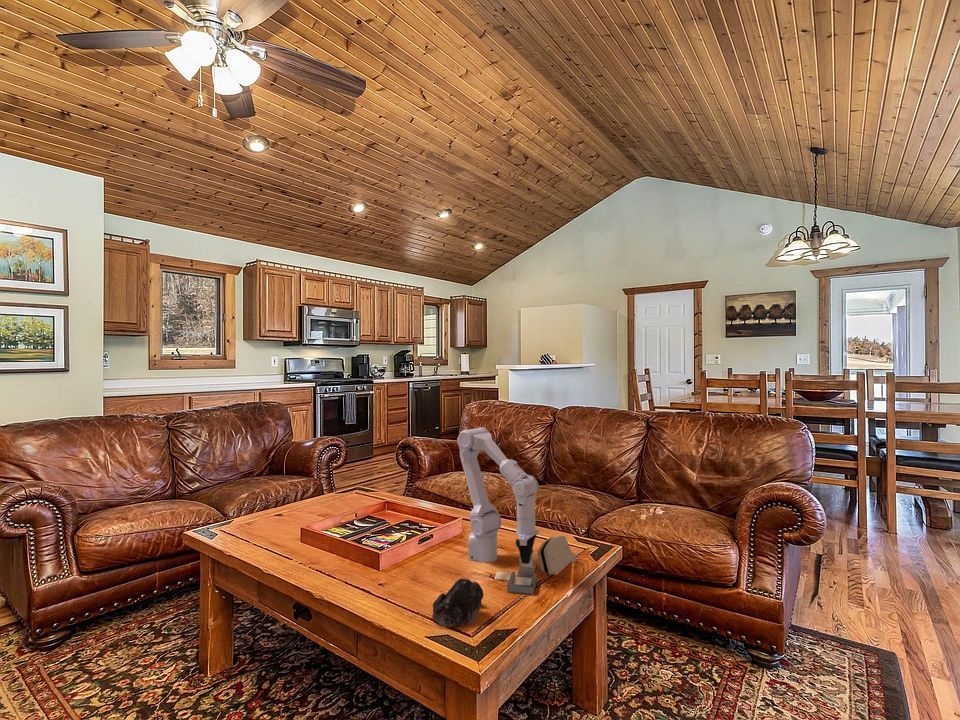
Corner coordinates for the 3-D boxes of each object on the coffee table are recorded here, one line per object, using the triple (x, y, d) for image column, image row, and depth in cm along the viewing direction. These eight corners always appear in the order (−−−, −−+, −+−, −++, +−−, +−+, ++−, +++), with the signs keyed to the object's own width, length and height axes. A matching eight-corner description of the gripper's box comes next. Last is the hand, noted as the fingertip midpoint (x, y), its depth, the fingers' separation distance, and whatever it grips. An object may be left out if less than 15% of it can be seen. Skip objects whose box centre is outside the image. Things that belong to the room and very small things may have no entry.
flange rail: (507, 595, 140) (507, 585, 140) (517, 567, 158) (516, 558, 158) (533, 598, 138) (533, 587, 138) (540, 569, 157) (540, 559, 157)
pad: (494, 581, 148) (494, 578, 148) (497, 574, 153) (497, 571, 153) (510, 583, 147) (510, 580, 147) (513, 576, 152) (513, 572, 152)
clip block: (519, 566, 151) (519, 549, 151) (521, 560, 155) (520, 544, 155) (532, 567, 150) (532, 550, 150) (533, 562, 154) (533, 545, 154)
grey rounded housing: (557, 579, 150) (546, 546, 152) (543, 580, 152) (533, 548, 154) (577, 559, 164) (567, 529, 166) (565, 561, 166) (555, 531, 168)
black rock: (421, 625, 126) (421, 589, 125) (445, 596, 139) (445, 563, 138) (468, 640, 121) (469, 603, 120) (488, 609, 134) (489, 575, 132)
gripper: (536, 525, 145) (536, 571, 145) (541, 510, 159) (541, 551, 159) (512, 523, 146) (513, 569, 146) (519, 508, 160) (520, 550, 160)
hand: (526, 560), depth 153 cm, fingers closed on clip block, 4 cm apart
